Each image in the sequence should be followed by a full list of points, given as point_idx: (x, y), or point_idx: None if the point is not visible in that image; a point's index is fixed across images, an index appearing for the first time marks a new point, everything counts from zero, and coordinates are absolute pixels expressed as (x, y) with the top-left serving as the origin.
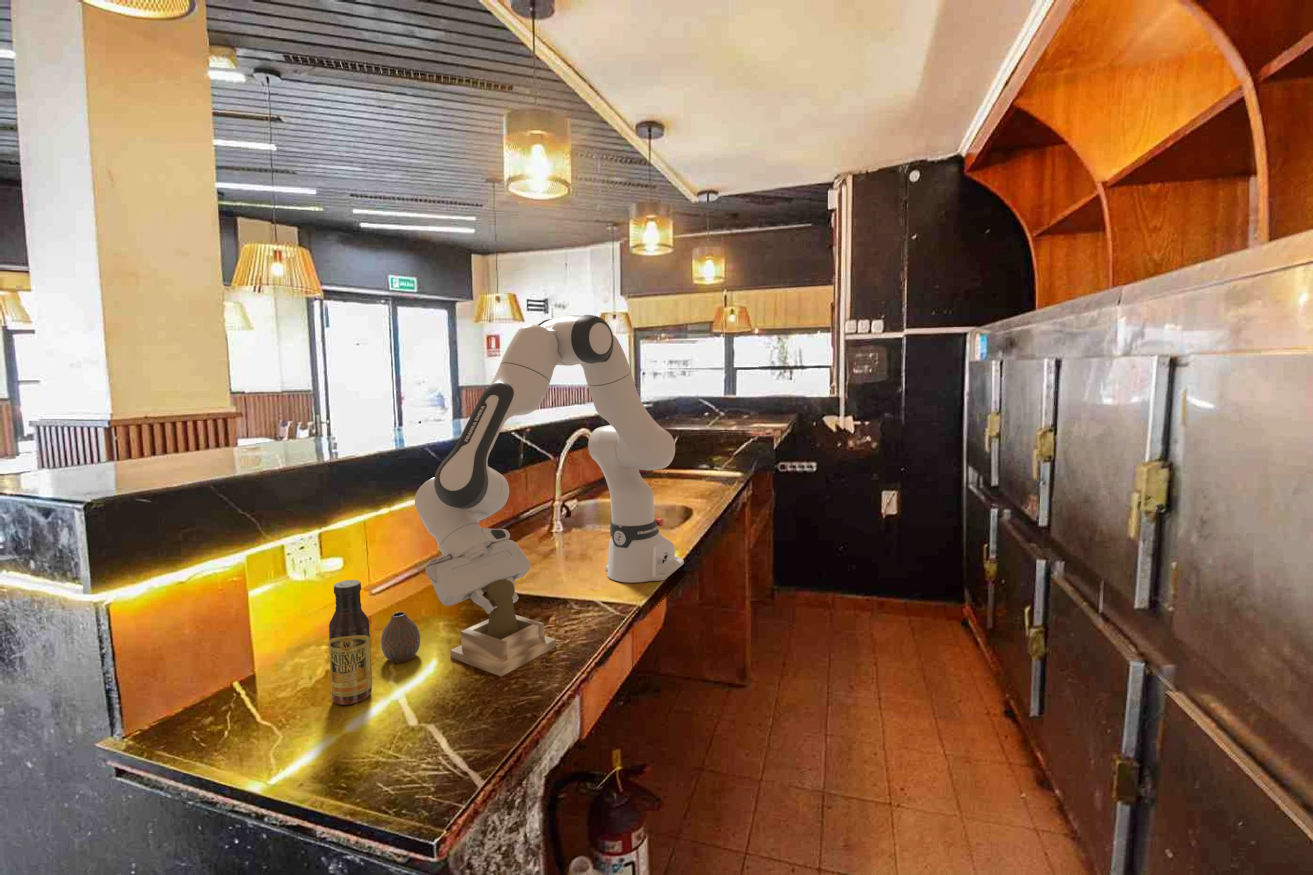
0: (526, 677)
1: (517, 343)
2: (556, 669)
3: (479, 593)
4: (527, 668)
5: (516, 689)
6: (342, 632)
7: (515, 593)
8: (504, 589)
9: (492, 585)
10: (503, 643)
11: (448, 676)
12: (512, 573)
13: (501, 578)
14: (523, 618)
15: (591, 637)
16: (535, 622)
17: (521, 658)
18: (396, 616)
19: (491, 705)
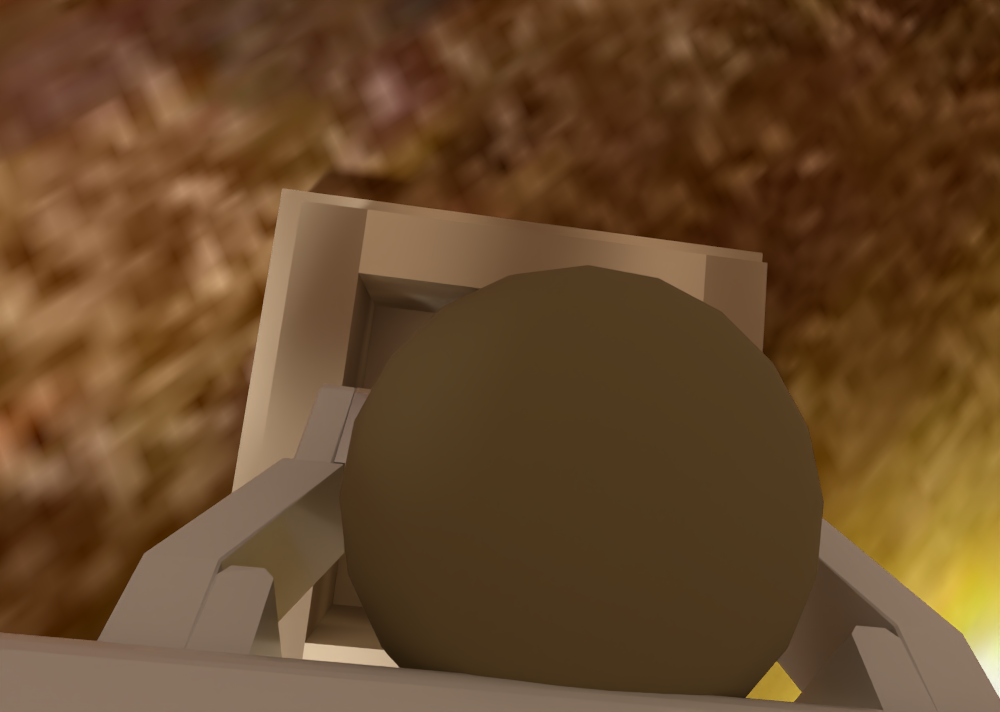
0: (679, 137)
1: None
2: (536, 43)
3: (929, 660)
4: (599, 194)
5: (795, 109)
6: None
7: (323, 423)
8: (697, 301)
9: (790, 544)
10: (735, 259)
11: (878, 548)
12: (41, 647)
13: (396, 672)
14: (286, 429)
15: (85, 75)
16: (317, 274)
17: (595, 232)
18: None
19: (958, 124)
